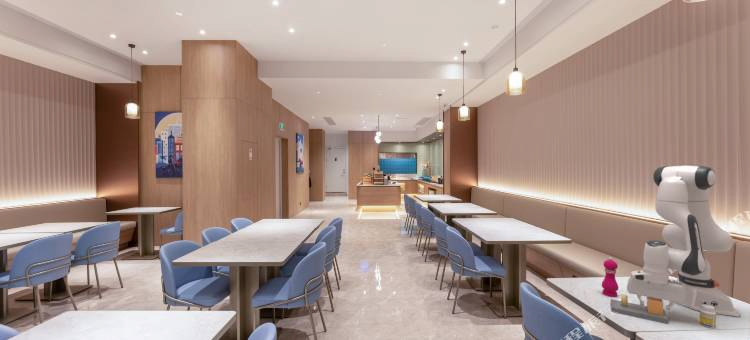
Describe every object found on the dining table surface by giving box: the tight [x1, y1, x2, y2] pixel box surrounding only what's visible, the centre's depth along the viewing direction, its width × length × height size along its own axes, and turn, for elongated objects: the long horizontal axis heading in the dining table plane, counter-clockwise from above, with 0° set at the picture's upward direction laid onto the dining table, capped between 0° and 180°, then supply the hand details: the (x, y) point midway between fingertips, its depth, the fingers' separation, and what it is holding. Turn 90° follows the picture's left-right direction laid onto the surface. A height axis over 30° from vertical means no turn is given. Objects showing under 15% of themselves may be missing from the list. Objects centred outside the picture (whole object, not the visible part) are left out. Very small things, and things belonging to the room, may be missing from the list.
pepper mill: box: [601, 256, 619, 298], centre depth 172 cm, size 7×7×20 cm
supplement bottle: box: [699, 304, 717, 329], centre depth 139 cm, size 5×5×8 cm
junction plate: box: [610, 293, 670, 325], centre depth 151 cm, size 20×12×7 cm, turn 55°
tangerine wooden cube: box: [646, 297, 664, 315], centre depth 147 cm, size 5×5×6 cm
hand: (654, 307), depth 147 cm, fingers open, 8 cm apart
